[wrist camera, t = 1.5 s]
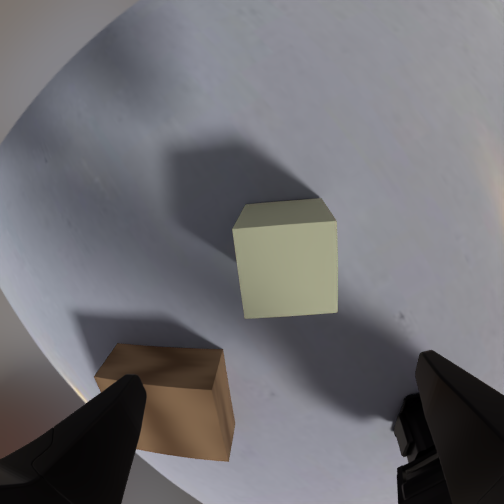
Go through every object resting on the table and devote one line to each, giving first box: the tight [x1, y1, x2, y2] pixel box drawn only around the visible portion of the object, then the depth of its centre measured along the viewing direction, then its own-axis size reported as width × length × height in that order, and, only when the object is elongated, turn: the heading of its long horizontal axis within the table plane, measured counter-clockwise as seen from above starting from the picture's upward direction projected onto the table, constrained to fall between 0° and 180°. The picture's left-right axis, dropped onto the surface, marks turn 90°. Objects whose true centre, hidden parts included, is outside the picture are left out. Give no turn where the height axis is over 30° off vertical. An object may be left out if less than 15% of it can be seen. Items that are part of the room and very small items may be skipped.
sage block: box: [232, 198, 338, 319], centre depth 19 cm, size 5×5×6 cm
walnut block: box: [94, 343, 235, 462], centre depth 25 cm, size 10×10×5 cm
